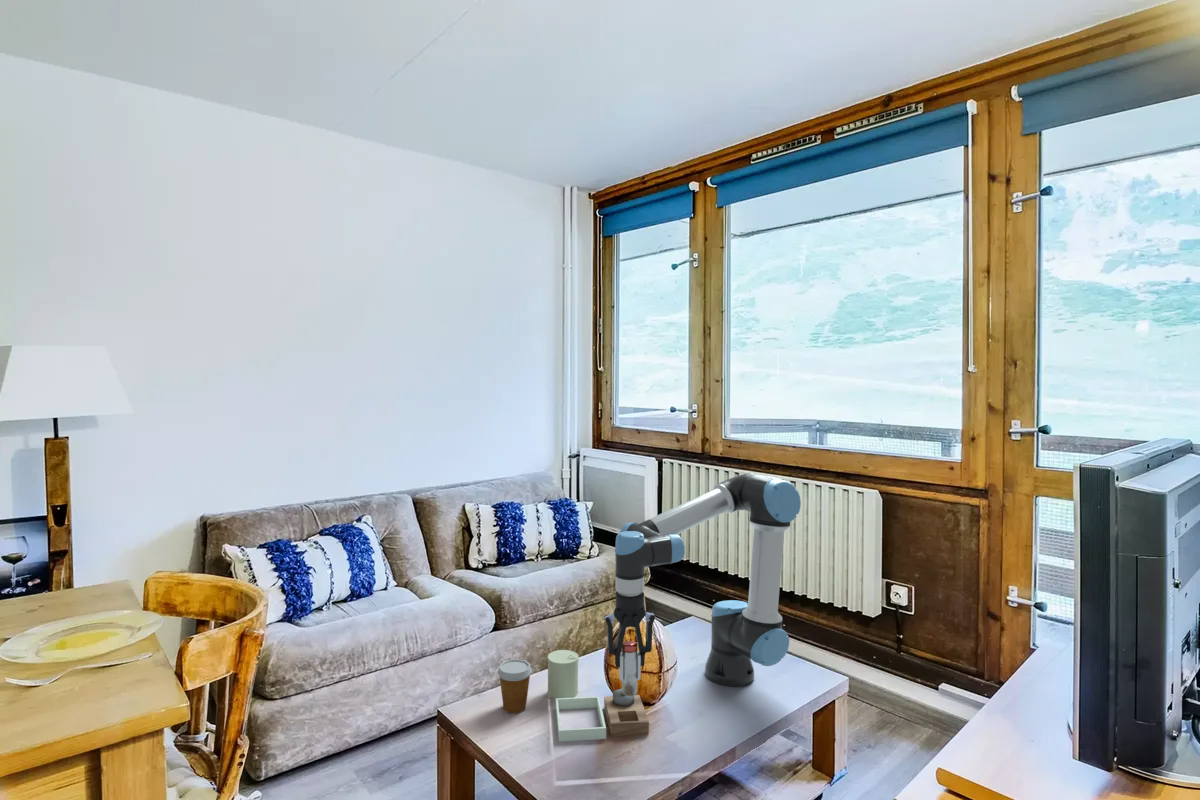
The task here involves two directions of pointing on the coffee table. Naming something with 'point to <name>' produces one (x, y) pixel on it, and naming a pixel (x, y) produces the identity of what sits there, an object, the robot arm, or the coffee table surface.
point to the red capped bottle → (629, 668)
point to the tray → (580, 732)
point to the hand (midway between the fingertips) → (629, 677)
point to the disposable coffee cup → (514, 684)
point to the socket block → (625, 714)
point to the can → (562, 674)
